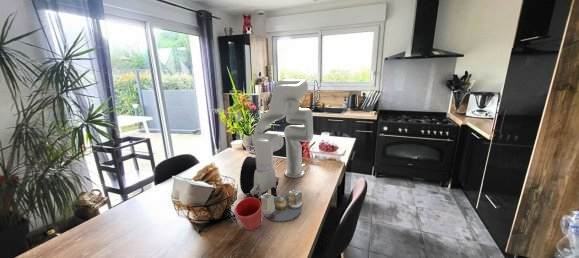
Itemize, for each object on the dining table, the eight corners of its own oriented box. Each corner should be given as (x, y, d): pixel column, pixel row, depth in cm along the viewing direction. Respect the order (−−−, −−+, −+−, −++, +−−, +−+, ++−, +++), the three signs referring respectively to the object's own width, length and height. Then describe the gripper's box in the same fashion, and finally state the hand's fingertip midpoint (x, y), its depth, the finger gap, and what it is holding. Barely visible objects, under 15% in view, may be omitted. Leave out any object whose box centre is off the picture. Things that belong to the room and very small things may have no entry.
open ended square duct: (267, 203, 111) (266, 190, 109) (277, 208, 106) (277, 195, 105) (257, 210, 106) (256, 197, 104) (267, 216, 101) (266, 202, 100)
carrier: (280, 194, 121) (279, 180, 119) (309, 207, 109) (309, 191, 107) (253, 211, 107) (251, 195, 105) (283, 228, 95) (283, 210, 93)
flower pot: (255, 237, 91) (250, 220, 86) (235, 228, 96) (229, 211, 92) (270, 217, 99) (266, 201, 94) (250, 210, 104) (245, 194, 100)
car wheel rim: (260, 203, 113) (258, 166, 108) (241, 201, 115) (238, 164, 110) (271, 184, 132) (269, 151, 127) (255, 182, 134) (252, 150, 129)
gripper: (272, 158, 109) (273, 190, 113) (243, 170, 96) (246, 206, 100) (284, 161, 104) (284, 195, 108) (255, 174, 92) (258, 212, 96)
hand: (266, 200), depth 104 cm, fingers open, 9 cm apart
